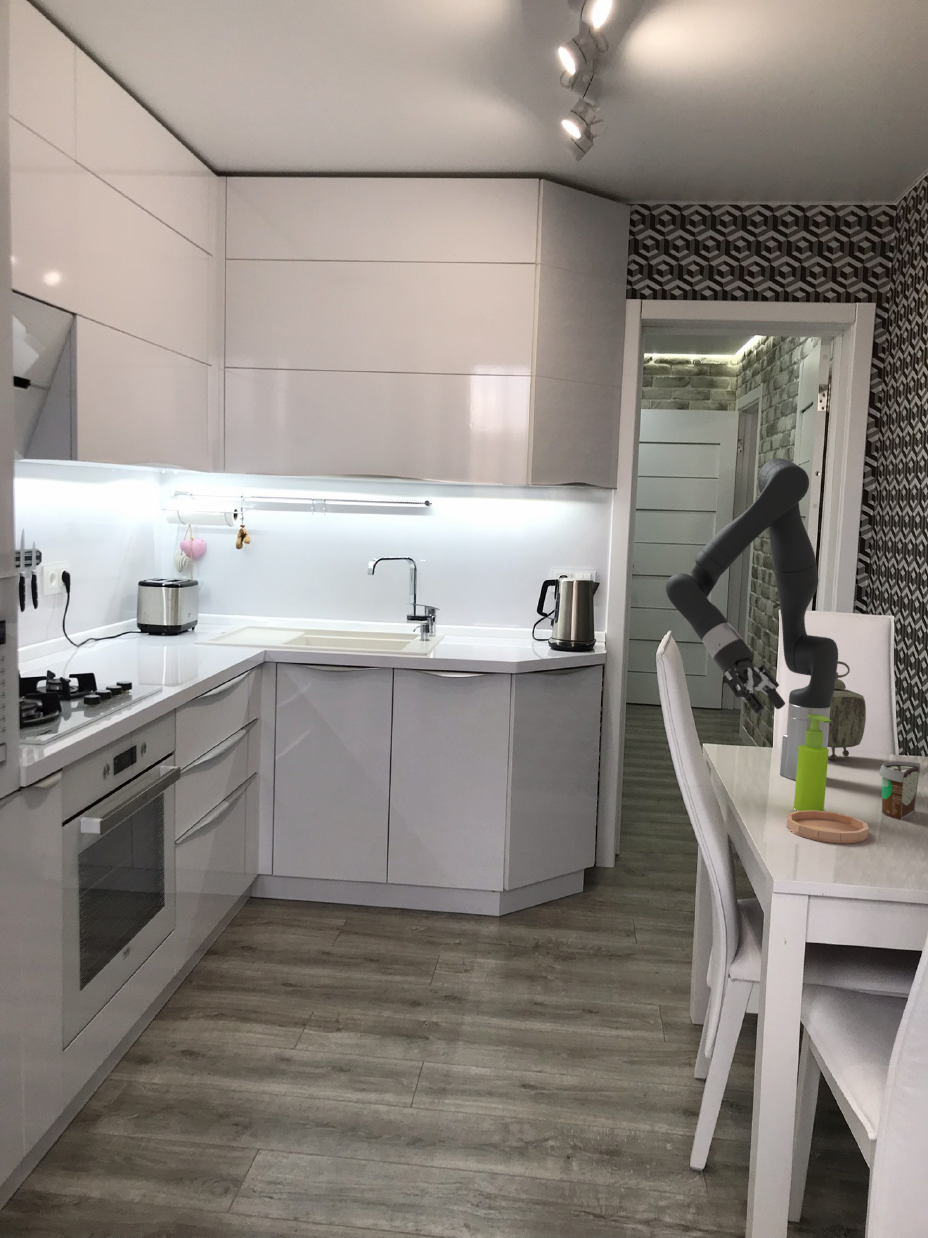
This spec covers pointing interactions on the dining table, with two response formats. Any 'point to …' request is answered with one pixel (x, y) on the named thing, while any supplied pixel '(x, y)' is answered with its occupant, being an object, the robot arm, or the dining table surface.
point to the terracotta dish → (827, 826)
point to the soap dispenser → (812, 768)
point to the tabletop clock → (845, 717)
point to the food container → (899, 788)
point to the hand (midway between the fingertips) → (771, 708)
